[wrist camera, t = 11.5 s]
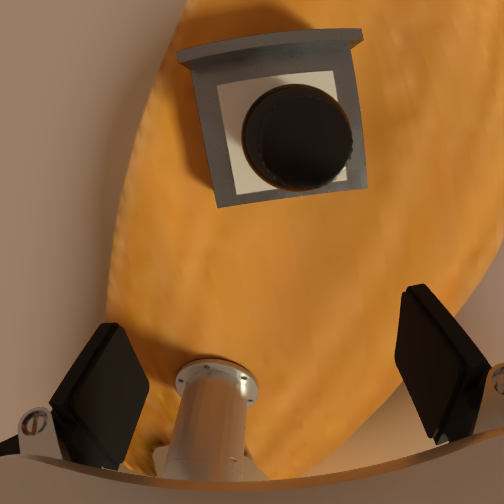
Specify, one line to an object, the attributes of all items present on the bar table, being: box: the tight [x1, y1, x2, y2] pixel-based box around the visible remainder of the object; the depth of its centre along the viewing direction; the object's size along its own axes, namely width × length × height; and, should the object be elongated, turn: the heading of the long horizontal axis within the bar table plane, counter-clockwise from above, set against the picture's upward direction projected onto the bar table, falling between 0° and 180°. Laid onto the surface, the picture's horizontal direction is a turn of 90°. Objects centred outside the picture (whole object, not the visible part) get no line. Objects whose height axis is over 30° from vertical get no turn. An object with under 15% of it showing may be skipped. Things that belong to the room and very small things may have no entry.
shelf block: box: [177, 28, 368, 208], centre depth 25 cm, size 14×14×8 cm
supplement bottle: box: [241, 84, 353, 192], centre depth 20 cm, size 7×7×12 cm
